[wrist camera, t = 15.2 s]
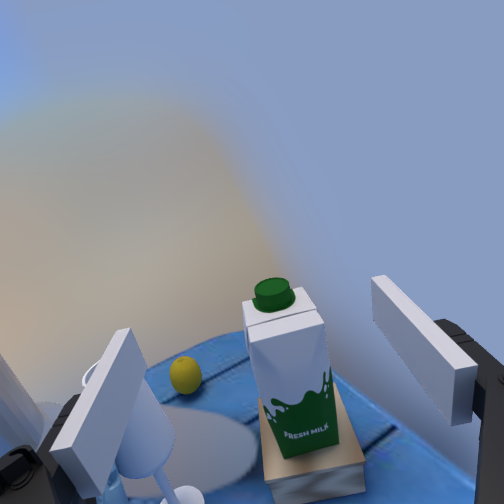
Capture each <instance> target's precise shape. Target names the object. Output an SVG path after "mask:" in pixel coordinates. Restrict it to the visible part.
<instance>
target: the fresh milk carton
mask: <svg viewBox="0 0 504 504" xmlns="http://www.w3.org/2000/svg"><path fill="white" fill-rule="evenodd" d="M255 295H256V298H254V299H252V300H249V301H245V302H242V307H243V323H244V332H245V339H246V346H247V339H248V347H247V352H248V348H249V353H248V355H250V360H251V365H252V369H253V373H254V376H255V380H256V384H257V387H258V391H259V395H260V398H261V402H262V405H263V409H264V412H265V415H266V417H267V420H268V423H269V425H270V427H271V429H272V432H273V434H274V436H275V439H276V441H277V444H278V446H279V448H280V451H281V453H282V456H283V458H284V459H287V458H290V457H294V456H297V455H301V454H305V453H308V452H312V451H315V450H319V449H322V448H326V447H329V446H333V445H336V444H340V443H339V433H338V423H337V412H336V403H335V394H334V387H333V380H332V373H331V367H330V360H329V353H328V347H327V342H326V335H325V334H326V333H325V327H324V321H323V320H322V318H321V317H320V315H319V312H318V310H317V308H316V306H315V305H314V304H313V303H312V301H311V299H310V298H309V296H308V295H307V293H306V292H305V290H304V289H303V287H299V288H295V289H290V286H289V282H288V281H287V280H286V279H284V278H269V279H266V280H263V281H261V282H259V283H258V284H257V285H256V286H255Z"/></svg>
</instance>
